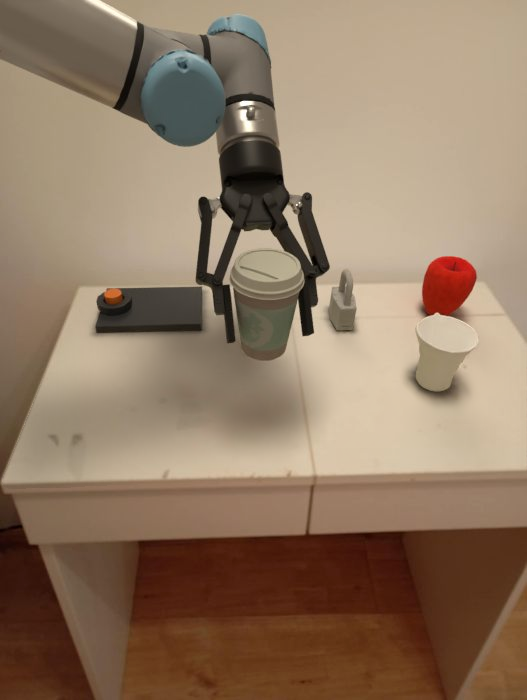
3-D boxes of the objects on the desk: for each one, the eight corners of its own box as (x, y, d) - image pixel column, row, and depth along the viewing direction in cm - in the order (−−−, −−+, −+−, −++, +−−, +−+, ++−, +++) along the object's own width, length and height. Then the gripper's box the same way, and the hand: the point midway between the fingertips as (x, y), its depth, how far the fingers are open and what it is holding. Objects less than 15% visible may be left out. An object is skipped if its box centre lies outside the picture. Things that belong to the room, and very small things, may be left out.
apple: (463, 330, 85) (483, 279, 78) (414, 321, 87) (429, 270, 80) (461, 303, 92) (479, 254, 85) (415, 296, 94) (429, 246, 87)
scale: (94, 332, 81) (90, 319, 79) (105, 294, 90) (102, 281, 88) (201, 330, 83) (200, 316, 81) (202, 292, 92) (201, 279, 90)
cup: (448, 360, 79) (467, 312, 72) (466, 401, 72) (489, 351, 65) (395, 359, 78) (409, 310, 72) (409, 400, 71) (426, 350, 65)
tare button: (104, 305, 83) (102, 297, 82) (107, 295, 85) (105, 288, 84) (121, 304, 83) (120, 297, 82) (123, 295, 86) (122, 288, 85)
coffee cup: (219, 336, 61) (217, 254, 54) (276, 319, 65) (282, 240, 57) (248, 376, 56) (250, 291, 48) (309, 356, 59) (320, 274, 51)
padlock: (355, 330, 84) (365, 283, 78) (333, 331, 84) (341, 283, 77) (346, 307, 90) (355, 261, 83) (325, 308, 89) (332, 261, 83)
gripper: (157, 138, 51) (178, 344, 50) (343, 134, 55) (367, 326, 53) (161, 170, 59) (179, 350, 57) (324, 165, 62) (345, 333, 61)
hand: (270, 338), depth 55 cm, fingers closed on coffee cup, 8 cm apart
